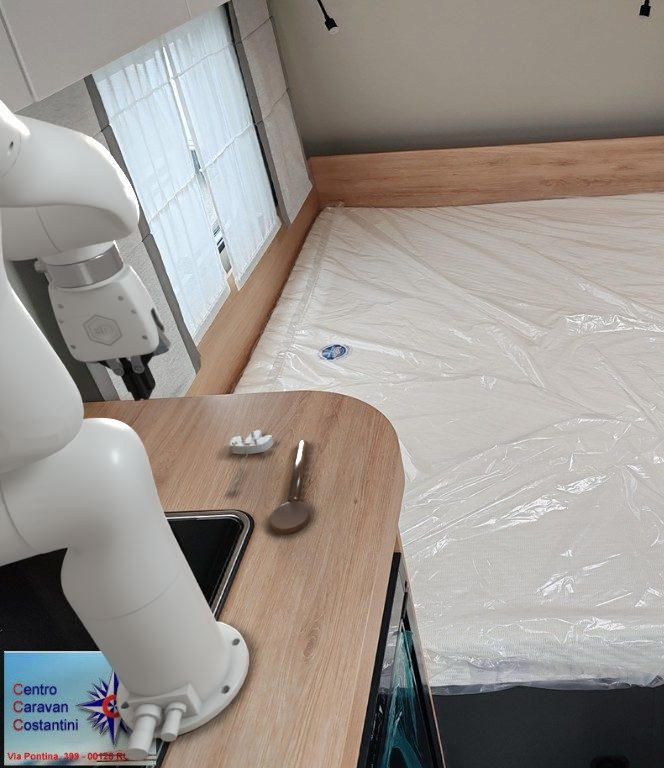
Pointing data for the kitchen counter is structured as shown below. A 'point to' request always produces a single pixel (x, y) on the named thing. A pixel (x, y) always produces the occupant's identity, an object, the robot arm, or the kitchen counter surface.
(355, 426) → the kitchen counter surface
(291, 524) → the spoon
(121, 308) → the robot arm
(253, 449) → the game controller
